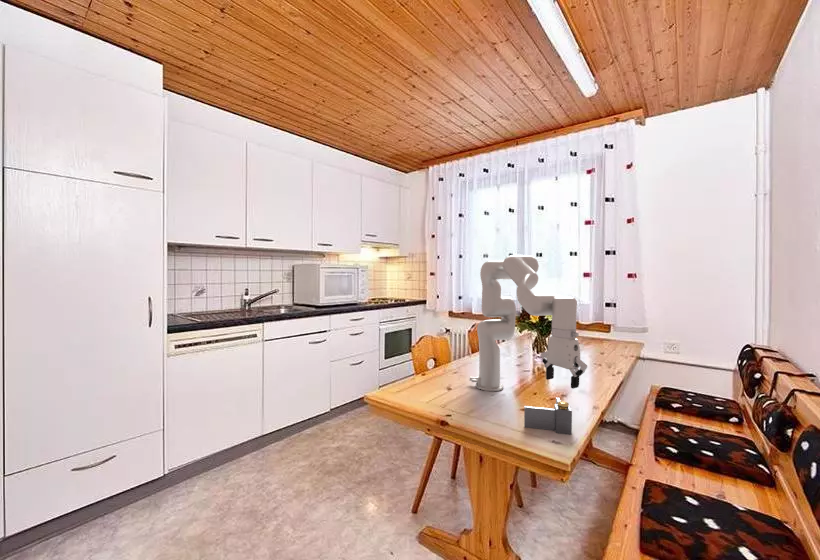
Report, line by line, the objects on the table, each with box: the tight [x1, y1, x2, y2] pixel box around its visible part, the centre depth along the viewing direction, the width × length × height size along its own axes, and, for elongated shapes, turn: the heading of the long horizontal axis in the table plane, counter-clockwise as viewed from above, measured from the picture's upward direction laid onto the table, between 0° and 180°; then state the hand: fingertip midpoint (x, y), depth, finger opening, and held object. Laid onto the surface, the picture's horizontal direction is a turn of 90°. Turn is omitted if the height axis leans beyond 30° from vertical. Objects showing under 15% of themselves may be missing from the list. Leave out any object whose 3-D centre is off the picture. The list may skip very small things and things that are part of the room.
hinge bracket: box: [523, 397, 573, 435], centre depth 126 cm, size 15×15×8 cm
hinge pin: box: [558, 400, 570, 409], centre depth 120 cm, size 3×3×10 cm
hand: (561, 383), depth 120 cm, fingers open, 9 cm apart
